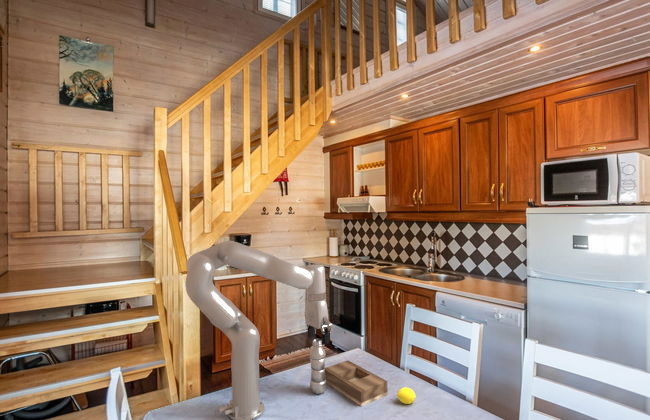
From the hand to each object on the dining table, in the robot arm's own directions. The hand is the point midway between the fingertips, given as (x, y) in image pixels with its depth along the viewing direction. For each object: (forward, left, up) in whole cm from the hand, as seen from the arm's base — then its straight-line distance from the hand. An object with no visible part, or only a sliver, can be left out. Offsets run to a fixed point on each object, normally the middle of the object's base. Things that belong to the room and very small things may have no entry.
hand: (318, 340), depth 138 cm
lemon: (+20, -26, -20) cm, 39 cm away
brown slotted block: (+12, -6, -20) cm, 24 cm away
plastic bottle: (-1, 0, -20) cm, 20 cm away
